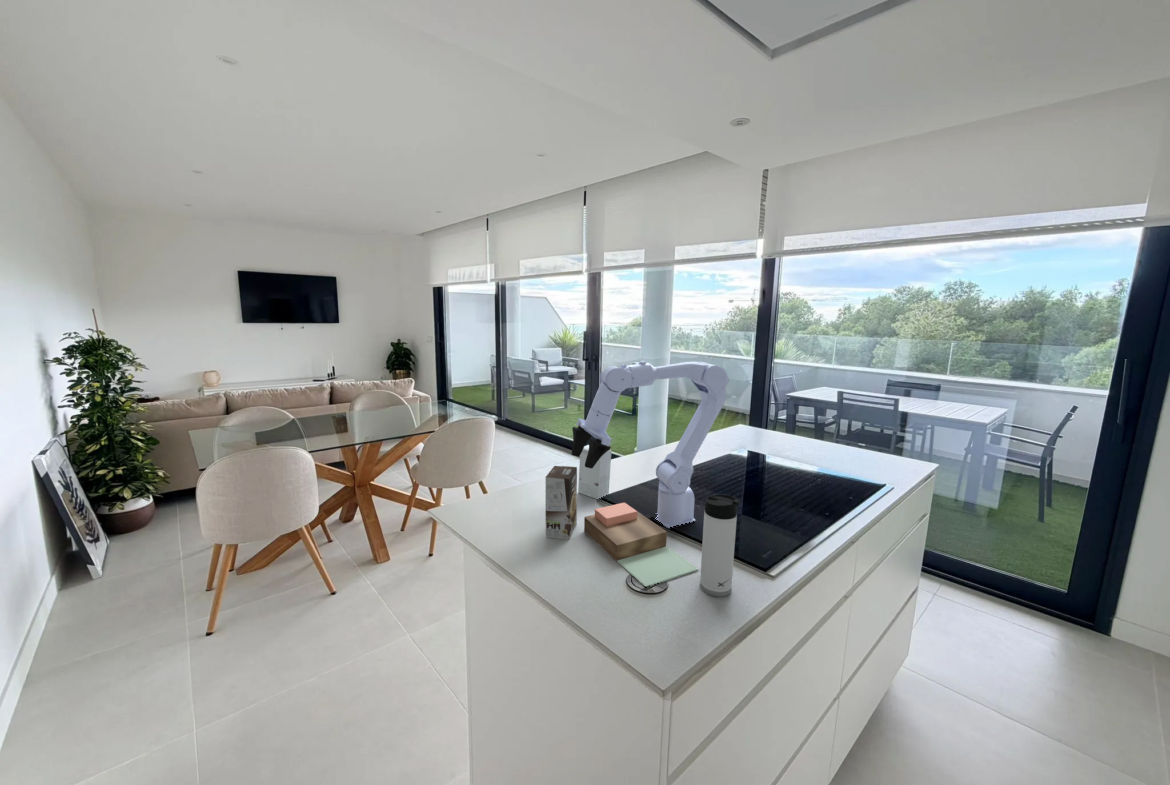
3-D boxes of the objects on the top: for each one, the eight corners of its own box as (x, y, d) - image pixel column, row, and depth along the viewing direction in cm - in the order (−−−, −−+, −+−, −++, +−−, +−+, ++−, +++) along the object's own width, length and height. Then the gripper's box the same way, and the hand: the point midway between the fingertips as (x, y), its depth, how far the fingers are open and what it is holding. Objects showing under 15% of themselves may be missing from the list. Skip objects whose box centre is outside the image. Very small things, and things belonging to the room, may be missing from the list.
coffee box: (569, 540, 113) (569, 478, 110) (544, 537, 115) (544, 476, 112) (577, 523, 122) (578, 466, 119) (554, 521, 123) (554, 464, 120)
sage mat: (666, 547, 110) (667, 546, 110) (697, 570, 101) (698, 568, 101) (617, 562, 104) (617, 560, 104) (645, 588, 94) (645, 586, 94)
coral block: (624, 509, 122) (624, 502, 121) (637, 518, 116) (637, 511, 116) (594, 516, 118) (594, 509, 117) (606, 526, 112) (606, 518, 112)
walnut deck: (629, 520, 124) (630, 506, 124) (666, 547, 111) (666, 531, 110) (584, 531, 118) (584, 516, 117) (616, 561, 104) (617, 545, 103)
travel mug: (728, 601, 90) (735, 506, 86) (695, 590, 94) (701, 499, 90) (736, 585, 95) (743, 495, 92) (705, 575, 99) (710, 488, 95)
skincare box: (577, 493, 142) (578, 447, 139) (590, 487, 147) (590, 443, 144) (598, 500, 137) (599, 453, 134) (611, 494, 141) (611, 448, 139)
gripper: (575, 399, 119) (556, 447, 120) (602, 417, 107) (581, 470, 108) (597, 406, 123) (578, 452, 124) (625, 424, 110) (605, 475, 111)
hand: (581, 461), depth 116 cm, fingers open, 7 cm apart
